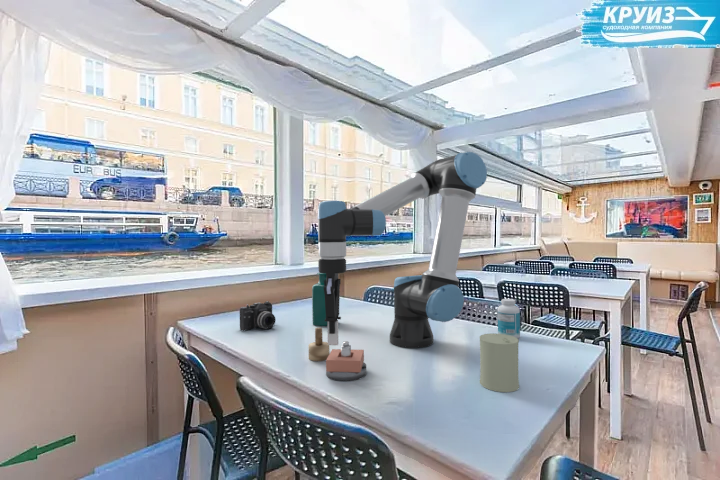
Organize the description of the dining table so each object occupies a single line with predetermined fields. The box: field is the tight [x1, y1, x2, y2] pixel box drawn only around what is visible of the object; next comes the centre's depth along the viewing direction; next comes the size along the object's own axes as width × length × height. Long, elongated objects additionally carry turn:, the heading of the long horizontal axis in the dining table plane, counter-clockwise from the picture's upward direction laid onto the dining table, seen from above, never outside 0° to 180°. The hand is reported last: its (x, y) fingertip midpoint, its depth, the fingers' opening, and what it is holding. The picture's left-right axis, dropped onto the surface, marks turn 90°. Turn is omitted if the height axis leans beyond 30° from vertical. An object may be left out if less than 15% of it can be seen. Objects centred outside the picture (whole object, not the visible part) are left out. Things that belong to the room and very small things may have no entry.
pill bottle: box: [497, 298, 521, 340], centre depth 131 cm, size 8×7×14 cm
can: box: [479, 333, 520, 393], centre depth 91 cm, size 9×9×12 cm
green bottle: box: [311, 271, 328, 327], centre depth 155 cm, size 10×8×22 cm
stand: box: [307, 327, 331, 362], centre depth 112 cm, size 6×6×9 cm
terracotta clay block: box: [325, 348, 365, 372], centre depth 99 cm, size 9×9×3 cm
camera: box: [239, 300, 276, 332], centre depth 149 cm, size 14×11×10 cm
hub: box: [325, 341, 367, 382], centre depth 100 cm, size 11×11×8 cm
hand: (333, 344), depth 100 cm, fingers closed
